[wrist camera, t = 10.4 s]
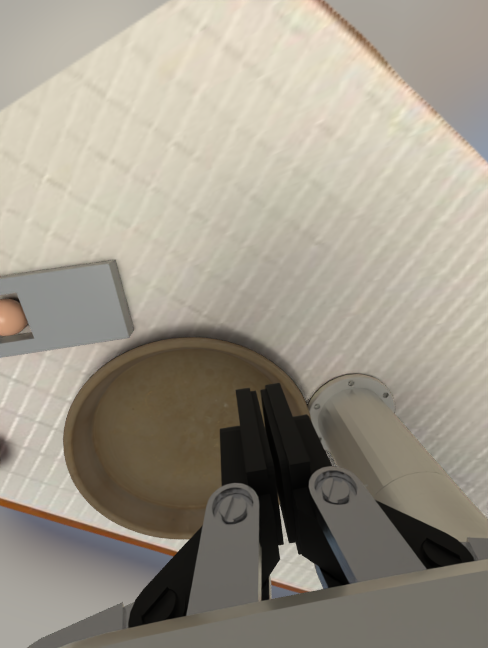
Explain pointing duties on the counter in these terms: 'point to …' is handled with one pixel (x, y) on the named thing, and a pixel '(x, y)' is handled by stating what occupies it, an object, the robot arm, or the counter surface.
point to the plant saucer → (162, 430)
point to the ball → (11, 317)
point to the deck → (68, 307)
